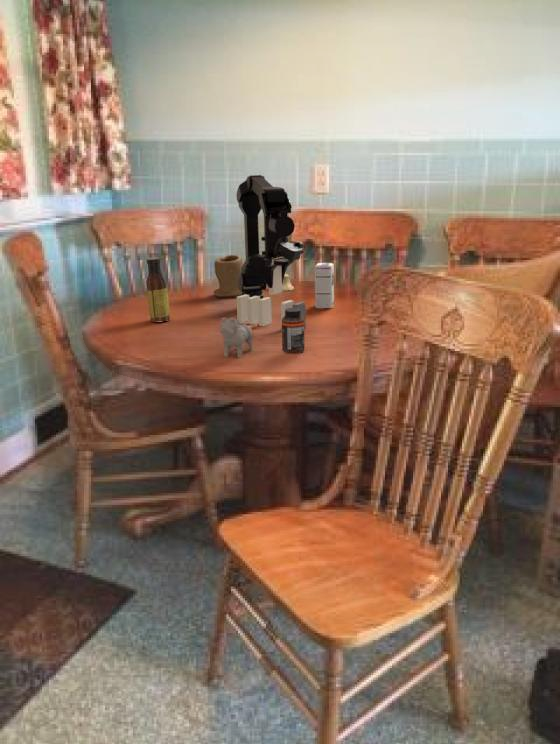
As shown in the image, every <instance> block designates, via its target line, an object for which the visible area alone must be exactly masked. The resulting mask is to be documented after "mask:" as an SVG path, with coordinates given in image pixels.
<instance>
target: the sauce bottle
mask: <svg viewBox="0 0 560 744" xmlns="http://www.w3.org/2000/svg"><path fill="white" fill-rule="evenodd" d="M146 264H147V268H148V276H147V277H146V281H145V283H146V294H147V296H146V297H147V305H148V312H149V318H150V321H151V320H152V321H167V320H169V319H170V314H171V312H170V304H169V296H168V288H167V287H168V286H167V283H166V281H165V278H164V276H163V273H162V269H161V258H160V257H148V258H147V259H146ZM152 321H151V322H152ZM169 321H170V320H169ZM167 322H168V321H167Z"/></svg>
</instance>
